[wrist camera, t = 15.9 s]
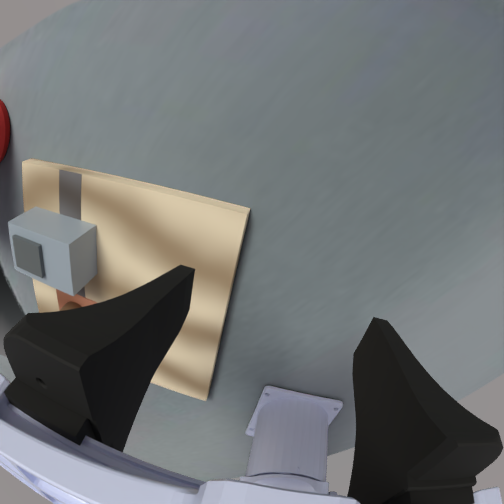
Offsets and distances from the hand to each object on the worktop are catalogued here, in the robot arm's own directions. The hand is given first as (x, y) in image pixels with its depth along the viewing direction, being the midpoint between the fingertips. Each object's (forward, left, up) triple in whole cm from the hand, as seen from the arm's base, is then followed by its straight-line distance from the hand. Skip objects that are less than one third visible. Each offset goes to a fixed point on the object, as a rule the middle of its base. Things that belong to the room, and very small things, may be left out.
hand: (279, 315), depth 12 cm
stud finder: (-6, +18, -9) cm, 21 cm away
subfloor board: (-10, +13, -10) cm, 19 cm away
